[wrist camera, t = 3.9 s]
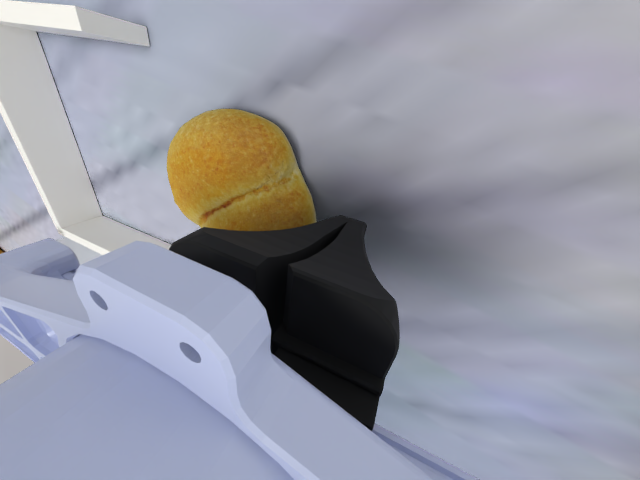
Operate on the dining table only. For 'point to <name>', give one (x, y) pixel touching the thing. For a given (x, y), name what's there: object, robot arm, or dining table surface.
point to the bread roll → (237, 174)
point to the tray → (57, 117)
